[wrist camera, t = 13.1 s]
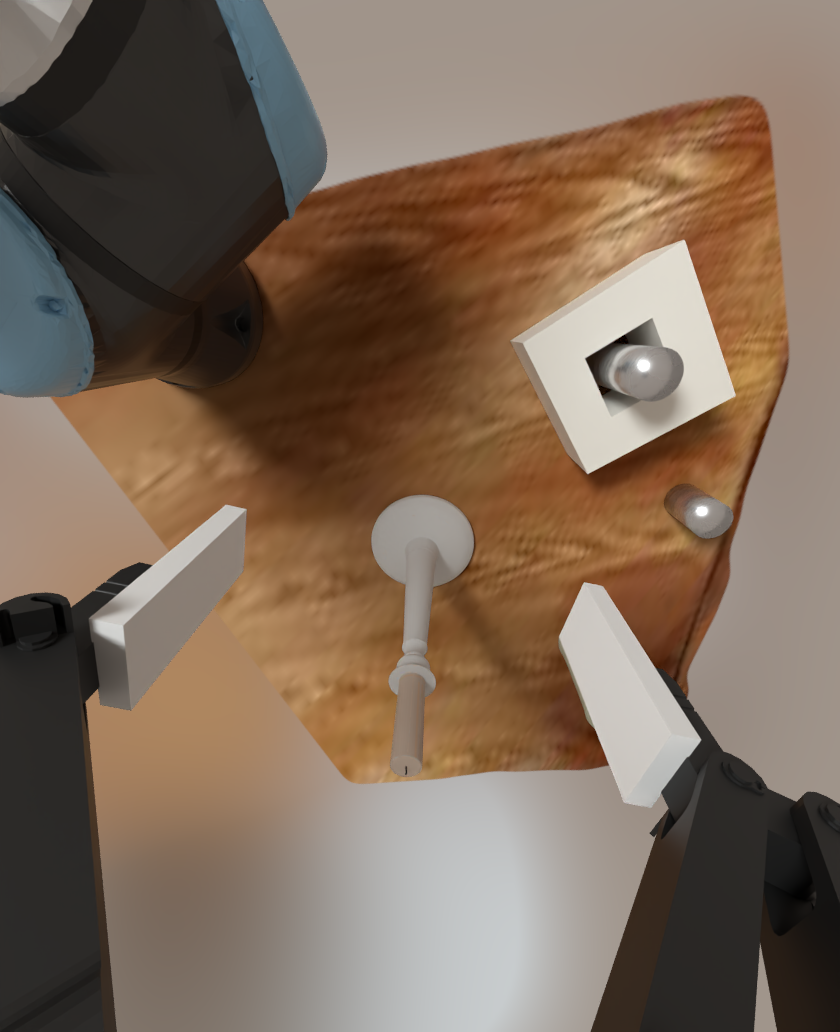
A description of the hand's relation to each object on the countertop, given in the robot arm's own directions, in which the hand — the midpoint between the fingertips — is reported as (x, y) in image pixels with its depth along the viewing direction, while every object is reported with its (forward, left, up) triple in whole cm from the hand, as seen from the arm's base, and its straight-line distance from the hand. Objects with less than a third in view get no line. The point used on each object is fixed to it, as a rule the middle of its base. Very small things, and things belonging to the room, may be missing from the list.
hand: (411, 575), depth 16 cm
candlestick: (+13, -9, -33) cm, 37 cm away
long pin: (+5, +18, -33) cm, 38 cm away
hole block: (+5, +18, -33) cm, 38 cm away
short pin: (+24, +20, -33) cm, 45 cm away
